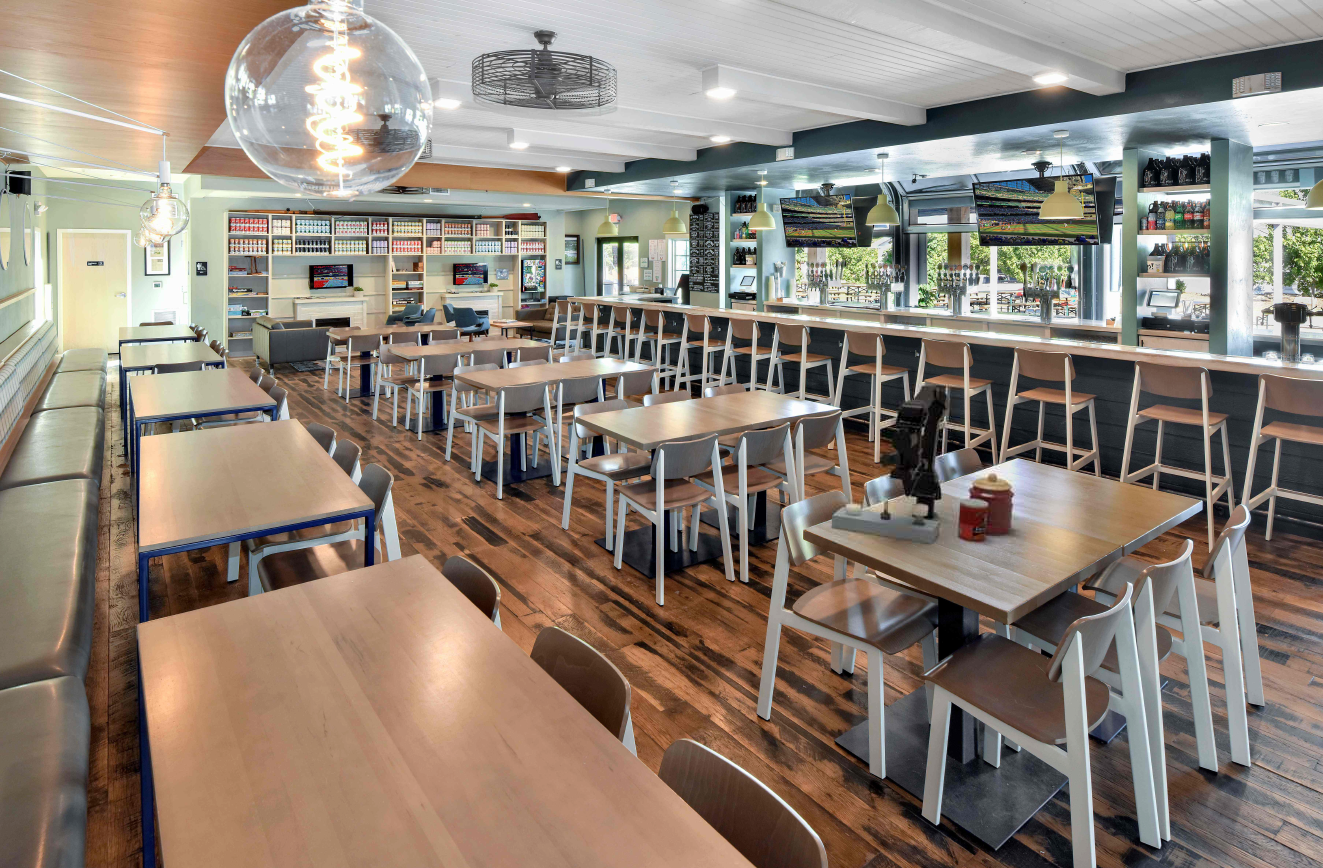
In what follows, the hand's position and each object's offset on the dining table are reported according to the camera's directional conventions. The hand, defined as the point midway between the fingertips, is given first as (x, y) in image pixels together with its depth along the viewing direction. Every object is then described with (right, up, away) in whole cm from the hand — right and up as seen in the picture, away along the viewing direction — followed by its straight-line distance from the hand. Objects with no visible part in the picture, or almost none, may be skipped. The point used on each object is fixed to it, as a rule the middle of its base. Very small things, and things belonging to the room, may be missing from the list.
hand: (907, 496), depth 235 cm
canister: (+27, -11, +7) cm, 30 cm away
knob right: (+3, -8, 0) cm, 9 cm away
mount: (-5, -11, +6) cm, 13 cm away
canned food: (+19, -12, 0) cm, 23 cm away
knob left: (-14, -9, +10) cm, 20 cm away
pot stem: (-5, -7, +5) cm, 10 cm away
